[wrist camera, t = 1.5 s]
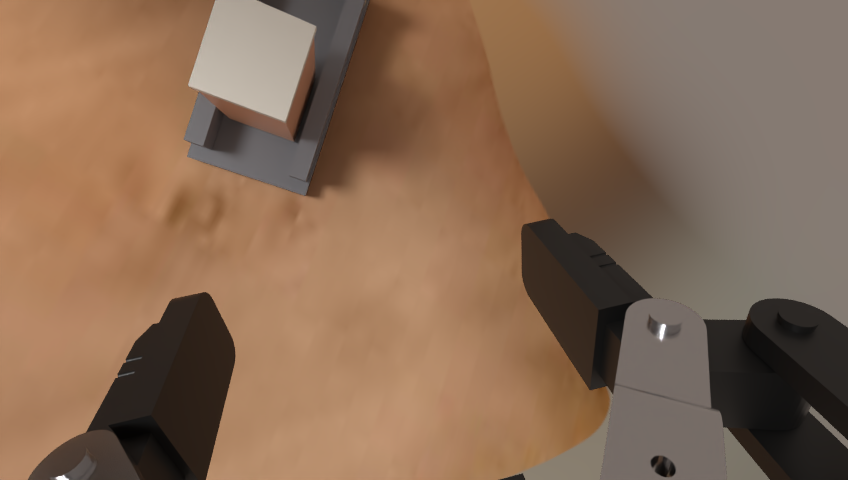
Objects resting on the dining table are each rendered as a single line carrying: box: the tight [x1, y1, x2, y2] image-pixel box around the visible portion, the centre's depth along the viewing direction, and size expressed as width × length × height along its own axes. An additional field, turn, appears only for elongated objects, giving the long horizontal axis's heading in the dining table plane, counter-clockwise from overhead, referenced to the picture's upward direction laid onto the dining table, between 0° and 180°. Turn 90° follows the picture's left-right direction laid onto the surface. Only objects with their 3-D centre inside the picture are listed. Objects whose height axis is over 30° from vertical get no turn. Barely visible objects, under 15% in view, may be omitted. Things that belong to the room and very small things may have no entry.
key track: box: [184, 0, 370, 196], centre depth 30 cm, size 16×8×6 cm, turn 161°
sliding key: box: [188, 0, 316, 142], centre depth 27 cm, size 5×5×10 cm
